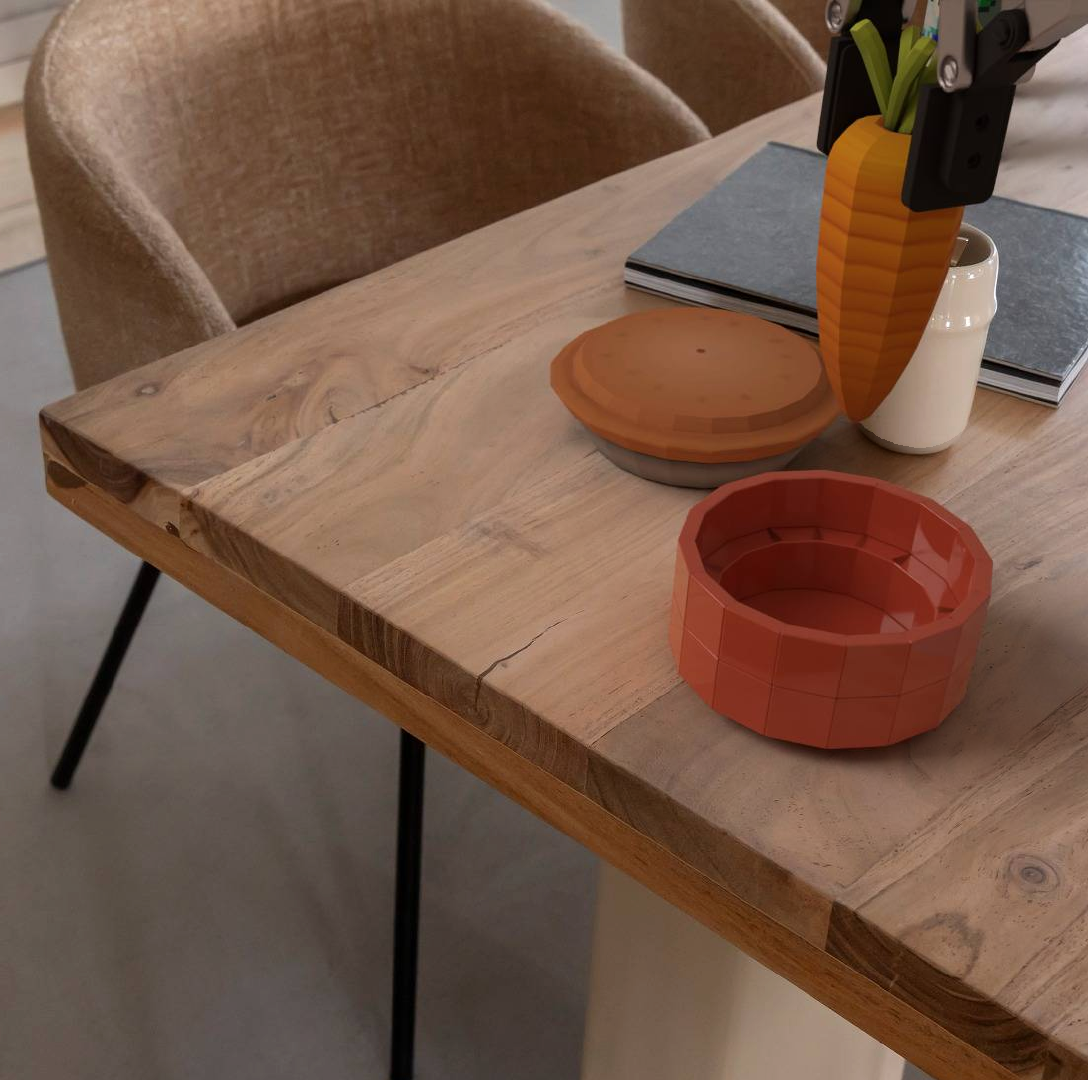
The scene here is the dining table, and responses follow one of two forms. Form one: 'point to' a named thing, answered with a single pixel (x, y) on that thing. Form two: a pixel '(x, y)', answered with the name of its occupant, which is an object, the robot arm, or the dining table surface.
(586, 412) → the pie
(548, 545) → the dining table surface
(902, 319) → the carrot
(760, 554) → the bowl
